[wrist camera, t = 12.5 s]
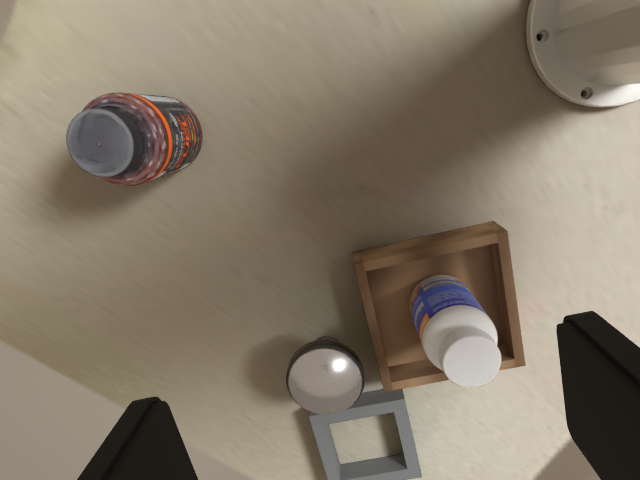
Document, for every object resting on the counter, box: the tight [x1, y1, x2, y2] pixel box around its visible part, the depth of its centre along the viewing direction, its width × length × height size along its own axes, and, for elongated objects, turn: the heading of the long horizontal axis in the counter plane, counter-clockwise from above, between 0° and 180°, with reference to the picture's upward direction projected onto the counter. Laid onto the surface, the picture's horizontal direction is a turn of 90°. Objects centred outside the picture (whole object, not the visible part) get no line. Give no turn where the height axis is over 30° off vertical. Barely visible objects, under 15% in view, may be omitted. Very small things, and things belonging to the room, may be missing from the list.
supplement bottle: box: [66, 93, 202, 186], centre depth 31 cm, size 6×6×11 cm
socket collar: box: [309, 389, 422, 480], centre depth 43 cm, size 9×9×2 cm
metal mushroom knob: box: [286, 336, 364, 415], centre depth 39 cm, size 6×6×6 cm
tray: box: [353, 221, 525, 392], centre depth 39 cm, size 12×12×3 cm
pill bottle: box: [409, 275, 501, 387], centre depth 35 cm, size 6×5×10 cm
